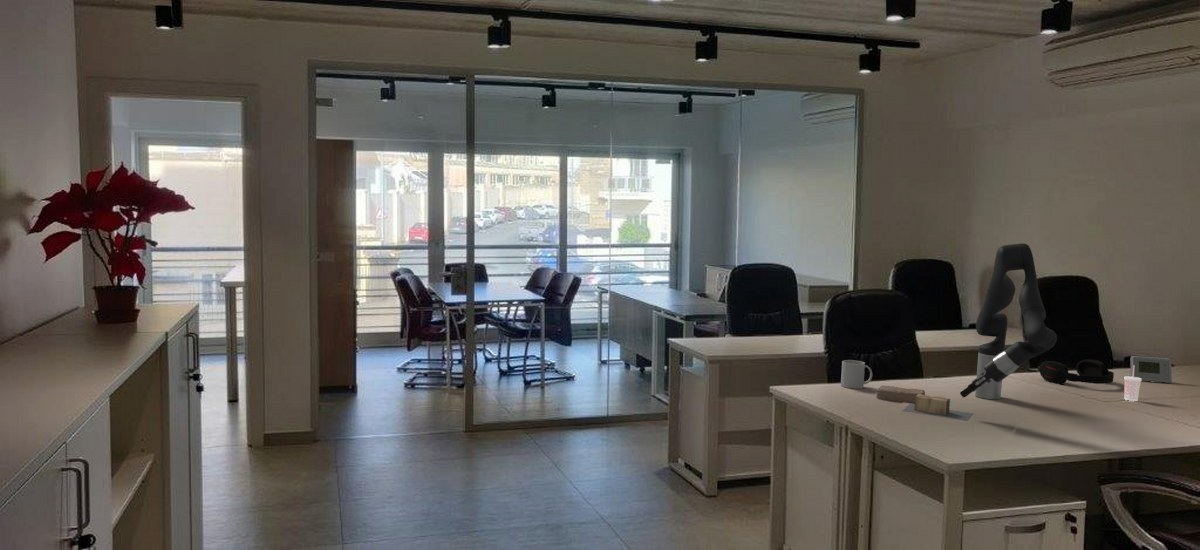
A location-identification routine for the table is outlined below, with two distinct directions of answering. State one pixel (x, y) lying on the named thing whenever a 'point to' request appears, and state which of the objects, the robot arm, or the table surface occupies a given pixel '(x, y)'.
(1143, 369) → the digital clock
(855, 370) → the mug
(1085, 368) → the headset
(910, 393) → the brick
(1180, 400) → the table surface
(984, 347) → the robot arm
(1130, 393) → the beverage cup
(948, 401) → the oak block
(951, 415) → the mat
